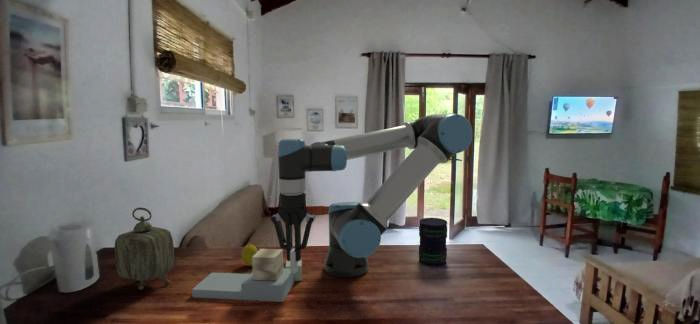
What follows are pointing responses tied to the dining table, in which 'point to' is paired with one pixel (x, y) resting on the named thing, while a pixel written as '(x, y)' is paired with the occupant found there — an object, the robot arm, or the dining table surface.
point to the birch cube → (267, 264)
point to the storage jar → (432, 242)
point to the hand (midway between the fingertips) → (294, 271)
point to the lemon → (248, 254)
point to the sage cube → (299, 272)
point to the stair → (244, 287)
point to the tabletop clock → (144, 252)
